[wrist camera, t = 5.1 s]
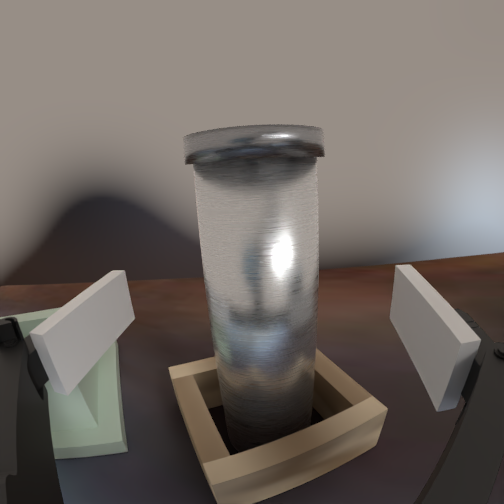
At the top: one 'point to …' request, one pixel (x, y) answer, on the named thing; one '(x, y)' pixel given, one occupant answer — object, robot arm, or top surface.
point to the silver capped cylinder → (260, 271)
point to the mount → (282, 450)
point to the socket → (85, 405)
